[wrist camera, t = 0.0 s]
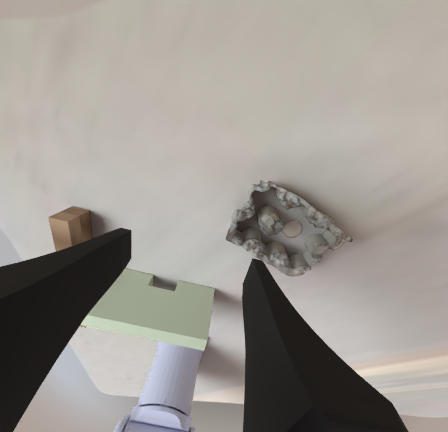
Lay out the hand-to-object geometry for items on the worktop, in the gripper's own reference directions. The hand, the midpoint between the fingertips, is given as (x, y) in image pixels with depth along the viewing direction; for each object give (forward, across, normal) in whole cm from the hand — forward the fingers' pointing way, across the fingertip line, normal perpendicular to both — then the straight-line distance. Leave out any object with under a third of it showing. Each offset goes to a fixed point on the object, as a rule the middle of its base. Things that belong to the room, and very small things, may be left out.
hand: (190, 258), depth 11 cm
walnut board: (+10, +15, +14) cm, 23 cm away
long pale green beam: (+10, +4, +14) cm, 18 cm away
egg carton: (+11, -8, +1) cm, 13 cm away
